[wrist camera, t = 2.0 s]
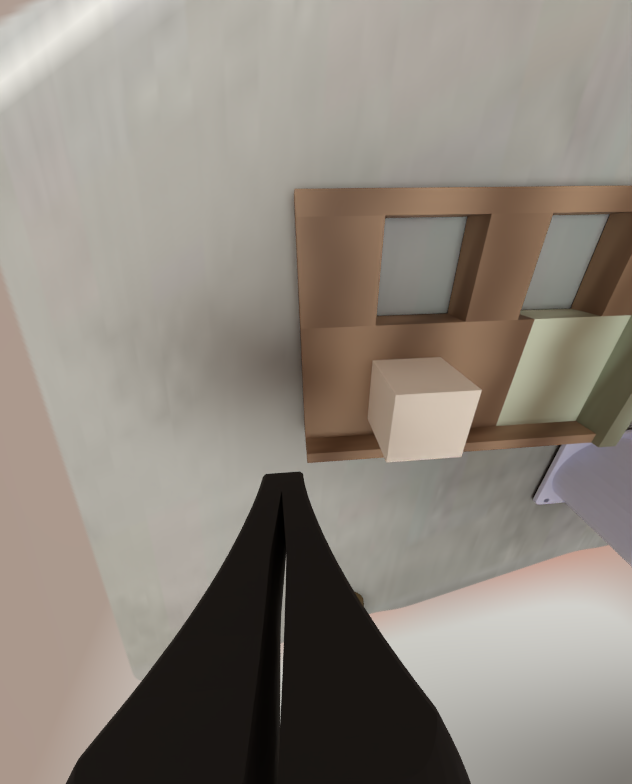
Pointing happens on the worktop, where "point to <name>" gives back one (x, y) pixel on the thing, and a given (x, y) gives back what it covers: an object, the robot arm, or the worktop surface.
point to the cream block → (420, 408)
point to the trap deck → (467, 316)
